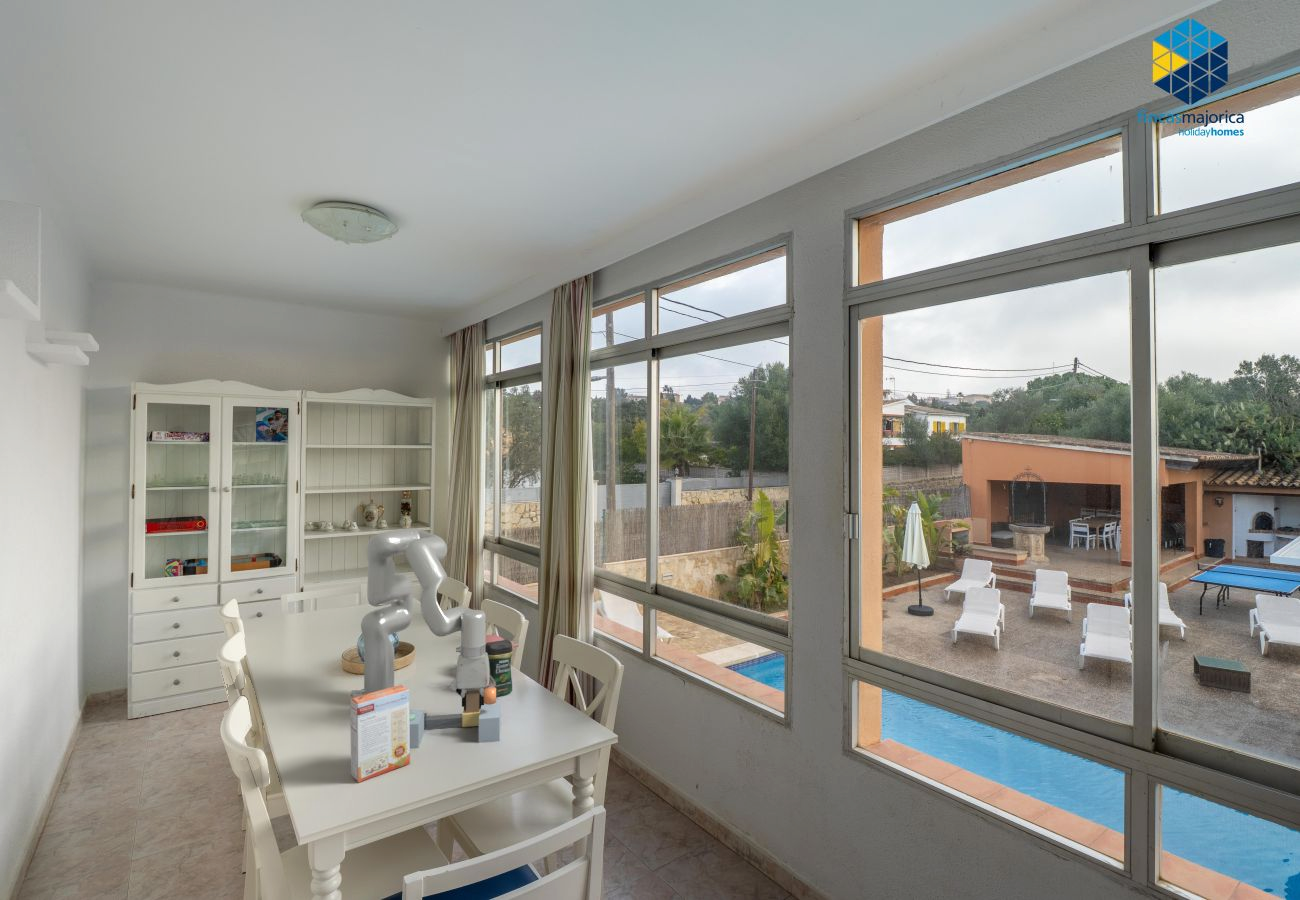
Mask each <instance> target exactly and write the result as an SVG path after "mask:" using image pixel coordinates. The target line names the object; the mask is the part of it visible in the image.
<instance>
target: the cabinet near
mask: <svg viewBox="0 0 1300 900" xmlns="http://www.w3.org/2000/svg"><path fill="white" fill-rule="evenodd" d="M424 713H425V709H414V710H409V721H410V749H419V748H420V744H421V742H422V739H423V736H424V733H425V730H424Z"/></svg>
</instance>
